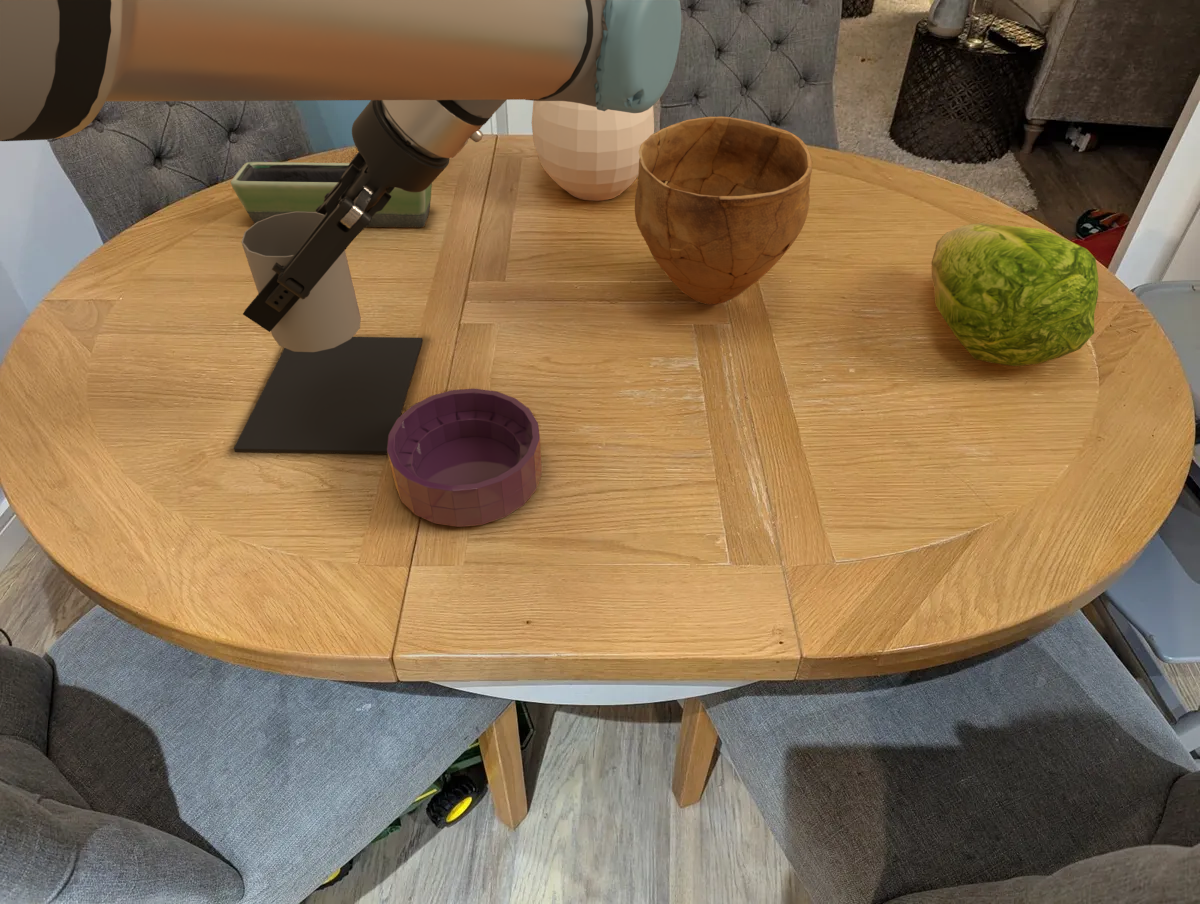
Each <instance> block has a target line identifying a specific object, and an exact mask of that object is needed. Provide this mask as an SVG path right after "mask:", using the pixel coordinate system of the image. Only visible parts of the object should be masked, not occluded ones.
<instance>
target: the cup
mask: <svg viewBox="0 0 1200 904" xmlns="http://www.w3.org/2000/svg"><path fill="white" fill-rule="evenodd" d="M324 216H325V215H323V214H320V213H317V212H290V213H284V214H278V215H274V216H271V217H269V218H266V219H264V220H261V221H259V222H256V223H254V224H252V225H251V226H250V227H249V228H247V229H246V230H245V231H244V232H243V236H242V238H241V245H242V249H243V251H244V254H245V258H246V261H247V264H248V267H249V270H250V273H251V276H252V278H253V281H254V285H255V288H256V291H257V295H258V294H259V293H260V292H261V290H262V289H263V288H264V287H265V286H266V284H267V283H268V282H269V281H270V280H271V278H272V277H273V276H274V275H275V274H276V272H275V271H273V270H272V268H273V266H274V265H275V263H276V262H277V263H278V264H280V265H281V266H282V265H283V266H286V265H287V264H288V262H289V261H290V260H291V258H292V257H293V256H294V254H295V253H296V252H297V251H298V249H299V248H300V247H301V245H302V244H303V243H304V241H305V240H306V239H307V238H308V236H309V235H310V234H311V232H312V231H313V230H314V228H315V227H316V226H317V225H318V223H319V222H320V221H321V219H322V218H323V217H324ZM359 308H360V307H359V303H358V299H357V295H356V292H355V286H354V283H353V279H352V274H351V269H350V266H349V261H348V257H347V253H346V249H345V250H344V252H343V253H342V254H341V255H340V256H339V258H338V259H337V260H336V261H335V262H334V264H333V265H332V266H331V267H330V268H329V270H328V271H327V272H326V273H325V274H324V276H323V277H322V278H321V279H320V280H319V282H318V283H317V284H316V285H315V286H314V287H313V289H312V290H311V291H310V294H309V296H308V297H306V298H305V299H303V300H302V299H301V298H300V299H299V300H298V301H297V302H296V303H295V304H294V305H293V306H292V308H291V309H290V310H289V311H288V312H287V313H286V314H285V316H284V317H283V318H282V319H281V320H280V321H279V322H278V323H277V325H276V326H275V327H274V328H273V329H272V330H271V331H270V333H271V336H272V337H273V339H274V341H275V342H276V343H277V345H278V346H279V347H282V348H283V349H284V348H286V349H289V350H291V351H294V352H317V351H322V350H326V349H331V348H335V347H336V346H338V345H340V344H342V343H344V342H346V341H348V340H350V339H351V338H352V337H355V335H356V334H357V333H358V331H360V329H361V323H362V322H361V321H362V317H361V313H360V309H359Z"/></svg>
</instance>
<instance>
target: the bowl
mask: <svg viewBox="0 0 1200 904" xmlns="http://www.w3.org/2000/svg"><path fill="white" fill-rule="evenodd" d="M639 157H640V158H639V175H638V177H637V183H636V190H635V196H634V215H635V216H634V217H635V221H636V225H637V228H638V230H639V233H641V236H642V238H643V240H644V242H645V244H646V245H647V248H648V249H649V251H650V253H651V255H652V257H653V259H654V261H655V262H656V263H657V265H658V266H659V267H660V268H661V270H662V271H663V272H664V273H665V275H667V277H668V278H669V280H670V281H671V282H672V283H673V284H674V285H675V286H676V287H677V289H678V290H679V291H680V292H682V293H683V294H684V295H686V296H688V297H689V298H690V299H692V300H693V301H695V302H697V303H701V304H704V305H719V304H723V303H726V302H728V301H730V300H732V299H735V298H736V297H739V296H740V294H742V293H743V292H745V291H746V290H747V289H748V288H749V287H751V286H752V285H753V284H755V283H756V282H757V281H759V280H760V279H761V278H762V277H763V276H765V275H766V274H767V273H768V272H769V271H771V269H772V268H773V267H774V266H775V265H776V264H777V263H778V262H779V261H780V259H781V258H782V257H783V256H784V255H785V254H786V252H788V251H789V249H790V248H791V246H792V245H793V244H794V243H795V241H796V240H797V238H798V237H799V235H800V233H801V232H802V230H803V228H804V226H805V223H806V221H807V218H808V213H809V209H810V203H811V202H810V198H811V197H810V187H811V186H810V185H811V176H812V172H813V158H812V154H811V152H810V150H809V148H808V146H807V144H806V143H805V142H804V141H803V140H802V138H800V137H799V136H798V135H796V134H794V133H792V132H790V131H789V130H786V129H782V128H780V127H775V126H772V125H770V124H769V125H768V124H765V123H762V122H759V121H755V120H751V119H744V118H739V117H738V118H736V117H730V116H724V115H723V116H722V115H720V116H702V117H697V118H690V119H686V120H685V119H684V120H683V121H679V122H677V123H673V124H671V125H667V126H666V127H663V128H661V129H659V130H657V131H656V132H654V134H652V135H651V136H650V137H649V138H648V139H647V140H645V141H644V142H643V143H642V144H641V146H640V149H639ZM666 182H667V183H666Z"/></svg>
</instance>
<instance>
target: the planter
mask: <svg viewBox="0 0 1200 904" xmlns="http://www.w3.org/2000/svg"><path fill="white" fill-rule="evenodd" d="M349 164H350V162H307V161H301V162H300V161H298V162H297V161H248V162H245V163H244V164H243V165H242V166H241V167H240V169H238V171H237V172H236V174H234V176H233V177H232V179H231V180H230V185H231V188H232V189H233V191H234V193H235V194H236V196H237V198H238V200H239V201H240V204H242V207H243V208H244V210H245V211H246V213H247V214H248V216H249V218H250V219H251V221H252V222H253V223H254V224H255V223H256V222H259V221H261V220H264V219H266V218H269V217H271V216H274V215H278V214H284V213H290V212H316V211H315V210H316V209H317V208H318V206H320V205H322V204H323V203H324V199H325V195H326V194H327V193H329V192H330V191H331V190H332V189H333V188H334V187H335V185H336V184H337V183H338V182H339V180H340V178H341V177H342V175H343V174H344V172H345V171H346V170H347V169H348V165H349ZM432 187H433V182H432V183H431V184H430V185H429V187H428V188H427V189H425V190H424V191H421V192H408V191H404V190H403V189H400V188H396V187H395V188H394V189H393V190H392V192H391V193H390V195H391V196H392V197H391V199H390V200H389V201H388V203H387V204H386V205H385V207H384V208H383V209H382V210H381V211H378V212H376V213H375V214H374V216H373V217H372V220H371V223H370V224H369V226H366V227H365V228H424V227H425V225H426V223H427V221H428V218H429V214H430V211H431V201H432Z"/></svg>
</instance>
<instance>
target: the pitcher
mask: <svg viewBox="0 0 1200 904" xmlns="http://www.w3.org/2000/svg"><path fill="white" fill-rule="evenodd" d="M532 103H533V104H532V112H531V130H532V140H533V145H534V149H535V152H536V155H537V158H538V161H539V163H540V165H541V168H542V169H543V170H544V171H545V173H546V174H548V176H549V177H550V178H551V180H553V181H554V182H555V183H556V185H558V186H559V187H560V188H561V189H563V190H564V191H565V192H567V193H568V194H569V195H571V197H573V198H576V199H579V200H584V201H594V202H598V201H607V200H608V201H609V200H611V199H615V198H616V197H619V196H620V195H622V194H623V193H624V192H625V191H626V190H627V189H628V188H629V187H631V186H632V185H633V183H634V182H635V181H636V179H638V175H639V158H640V157H639V149H640V146H641V144H642V143H643V142H644V141H645V140H647V139H648V138H649V137H650V136H651V135H652V134H654V133H655V115H654V114H655V113H654V105H653V106H652V107H651V108H649V109H648V110H646V111H644V112H641V113H629V112H622V111H616V110H609V109H608V110H606V111H601V110H597V107H593V106H589V105H585V104H581V103H575V102H567V101H532Z"/></svg>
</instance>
